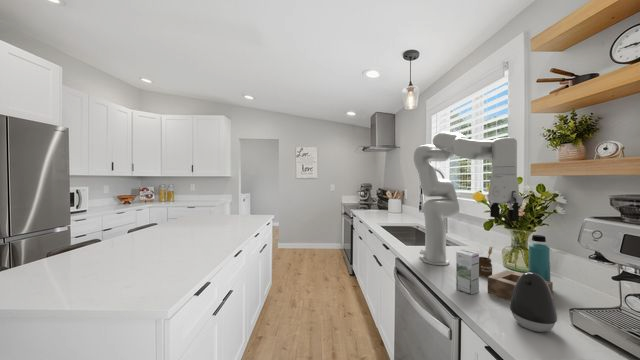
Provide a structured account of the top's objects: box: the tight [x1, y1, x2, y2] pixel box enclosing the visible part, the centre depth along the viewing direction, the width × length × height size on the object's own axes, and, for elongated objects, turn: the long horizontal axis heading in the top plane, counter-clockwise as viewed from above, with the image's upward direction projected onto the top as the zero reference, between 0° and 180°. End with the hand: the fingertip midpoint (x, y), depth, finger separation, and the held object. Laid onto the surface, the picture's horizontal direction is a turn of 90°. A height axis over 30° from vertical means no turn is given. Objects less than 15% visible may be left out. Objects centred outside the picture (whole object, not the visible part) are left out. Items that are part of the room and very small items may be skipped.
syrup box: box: [455, 249, 480, 296], centre depth 97 cm, size 6×6×14 cm
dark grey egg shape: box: [509, 271, 558, 333], centre depth 73 cm, size 10×10×15 cm
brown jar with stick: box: [478, 246, 493, 278], centre depth 113 cm, size 6×6×12 cm
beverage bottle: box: [527, 234, 552, 282], centre depth 100 cm, size 6×7×20 cm
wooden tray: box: [487, 270, 554, 302], centre depth 92 cm, size 14×14×6 cm
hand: (503, 219), depth 94 cm, fingers open, 9 cm apart
